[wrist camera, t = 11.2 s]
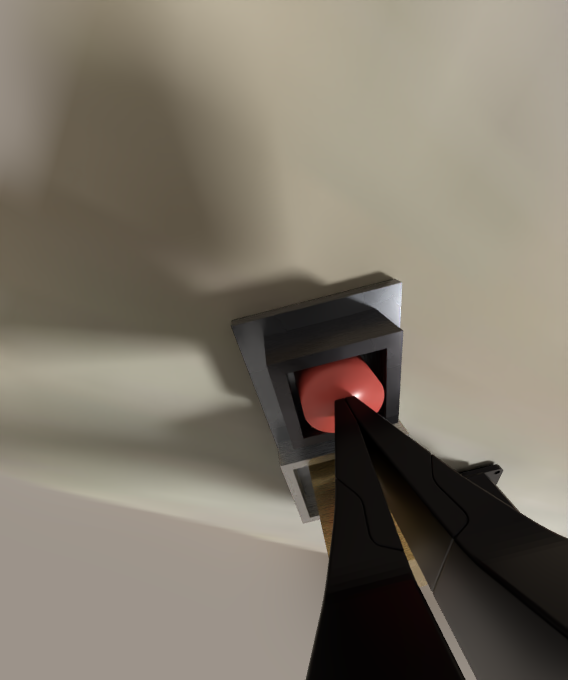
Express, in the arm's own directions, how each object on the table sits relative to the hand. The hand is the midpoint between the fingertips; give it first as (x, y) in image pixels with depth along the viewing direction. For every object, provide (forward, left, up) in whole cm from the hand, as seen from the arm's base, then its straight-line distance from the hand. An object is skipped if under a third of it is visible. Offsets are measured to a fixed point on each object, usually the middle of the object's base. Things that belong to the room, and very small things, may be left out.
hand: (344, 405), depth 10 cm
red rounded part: (0, 0, -3) cm, 3 cm away
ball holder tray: (-4, 0, -3) cm, 6 cm away
